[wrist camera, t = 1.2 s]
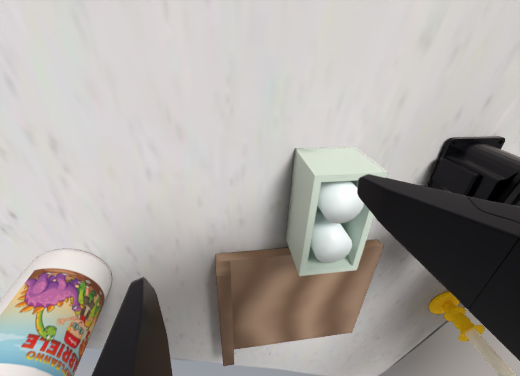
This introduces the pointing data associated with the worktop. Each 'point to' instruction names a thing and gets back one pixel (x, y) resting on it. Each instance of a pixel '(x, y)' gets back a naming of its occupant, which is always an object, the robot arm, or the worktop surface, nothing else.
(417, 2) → the worktop surface
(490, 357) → the candle
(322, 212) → the pale green crate
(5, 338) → the milk bottle
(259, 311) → the walnut shelf
